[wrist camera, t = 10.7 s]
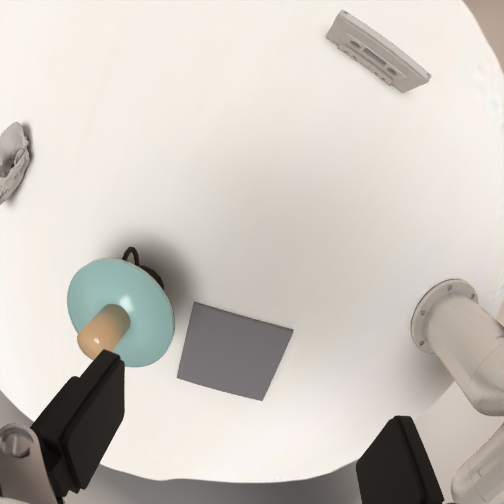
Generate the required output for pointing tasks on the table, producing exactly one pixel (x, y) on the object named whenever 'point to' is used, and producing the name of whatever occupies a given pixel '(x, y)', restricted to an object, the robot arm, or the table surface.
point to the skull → (12, 159)
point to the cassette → (376, 53)
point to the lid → (120, 312)
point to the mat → (231, 352)
